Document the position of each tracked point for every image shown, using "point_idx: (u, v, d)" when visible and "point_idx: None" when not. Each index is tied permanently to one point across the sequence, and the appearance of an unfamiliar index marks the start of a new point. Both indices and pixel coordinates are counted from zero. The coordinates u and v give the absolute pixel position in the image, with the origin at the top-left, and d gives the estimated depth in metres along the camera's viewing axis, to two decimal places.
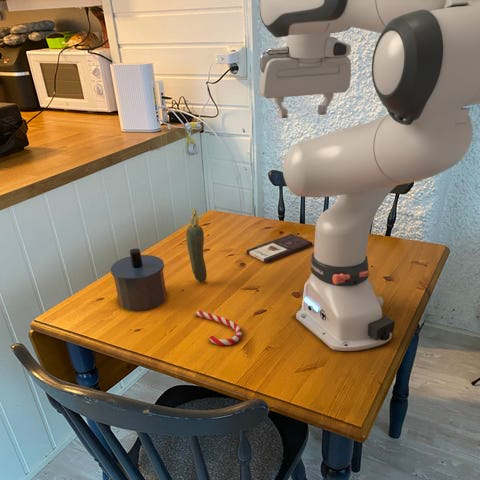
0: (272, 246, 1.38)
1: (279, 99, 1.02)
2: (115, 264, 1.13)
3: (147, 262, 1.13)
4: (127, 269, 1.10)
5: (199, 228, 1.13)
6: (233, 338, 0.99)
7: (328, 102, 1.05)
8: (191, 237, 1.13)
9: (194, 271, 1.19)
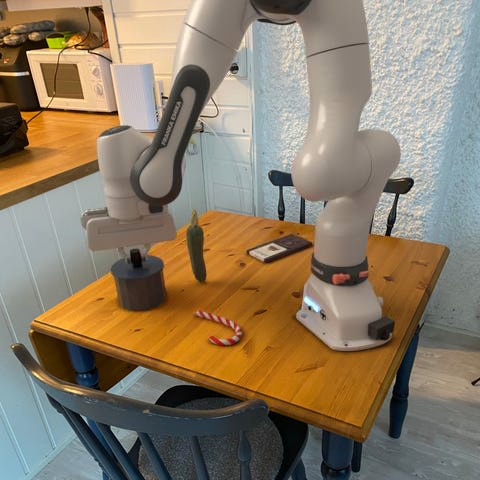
0: (272, 246, 1.38)
1: (119, 249, 1.07)
2: (115, 264, 1.13)
3: (147, 262, 1.13)
4: (127, 269, 1.10)
5: (199, 228, 1.13)
6: (233, 338, 0.99)
7: (147, 251, 1.09)
8: (191, 237, 1.13)
9: (194, 271, 1.19)
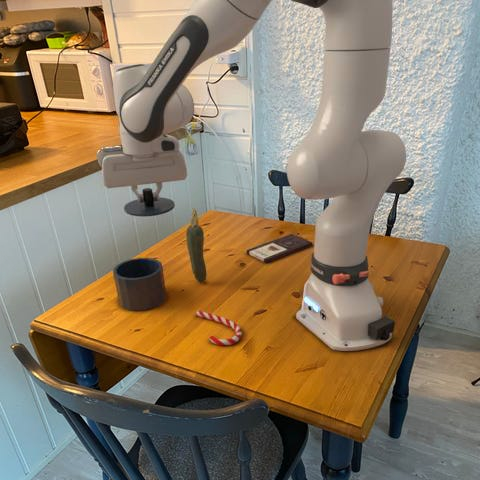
0: (272, 246, 1.38)
1: (133, 187, 1.13)
2: (128, 204, 1.19)
3: (158, 202, 1.19)
4: (140, 207, 1.16)
5: (199, 228, 1.13)
6: (233, 338, 0.99)
7: (159, 190, 1.15)
8: (191, 237, 1.13)
9: (194, 271, 1.19)
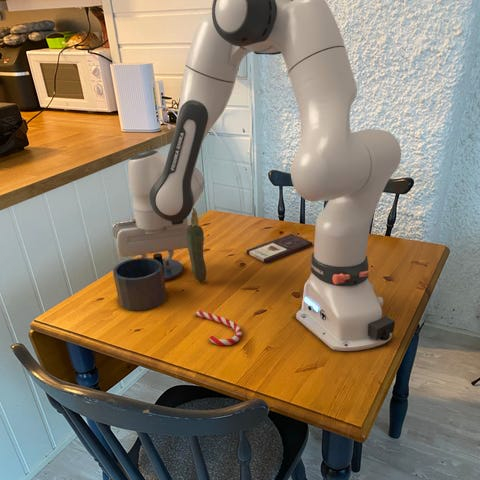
0: (272, 246, 1.38)
1: (142, 255, 1.24)
2: None
3: (168, 265, 1.29)
4: None
5: (199, 228, 1.13)
6: (233, 338, 0.99)
7: (170, 256, 1.26)
8: (191, 237, 1.13)
9: (194, 271, 1.19)
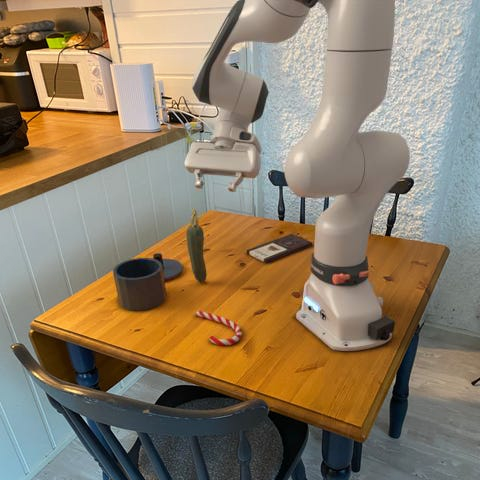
0: (272, 246, 1.38)
1: (196, 170, 1.22)
2: None
3: (168, 265, 1.29)
4: None
5: (199, 228, 1.13)
6: (233, 338, 0.99)
7: (236, 179, 1.18)
8: (191, 237, 1.13)
9: (194, 271, 1.19)
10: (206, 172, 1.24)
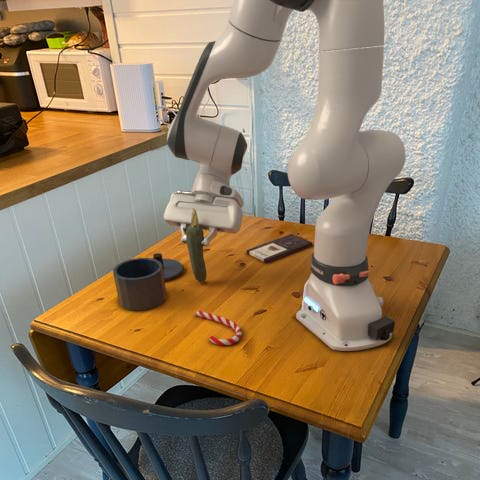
0: (272, 246, 1.38)
1: (182, 225, 1.17)
2: None
3: (168, 265, 1.29)
4: None
5: (199, 228, 1.13)
6: (233, 338, 0.99)
7: (209, 234, 1.14)
8: (191, 237, 1.13)
9: (194, 271, 1.19)
10: None
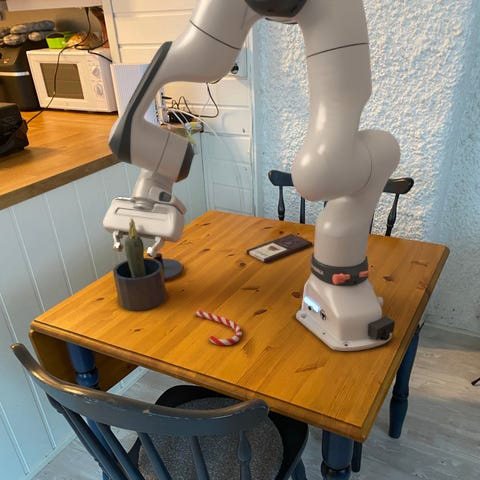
0: (272, 246, 1.38)
1: (114, 232, 1.11)
2: None
3: (168, 265, 1.29)
4: None
5: (137, 239, 1.07)
6: (233, 338, 0.99)
7: (155, 244, 1.07)
8: (129, 249, 1.07)
9: None
10: (127, 233, 1.13)
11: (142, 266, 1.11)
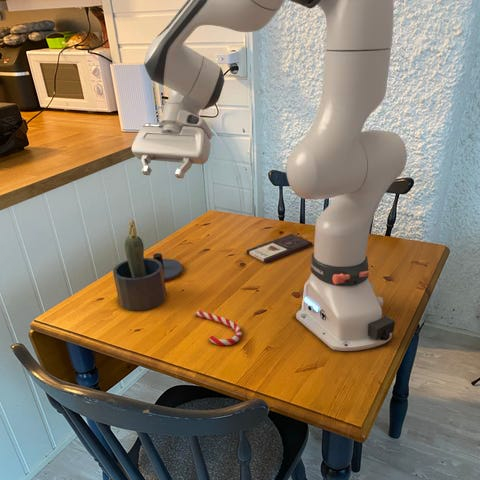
0: (272, 246, 1.38)
1: (143, 156, 1.16)
2: None
3: (168, 265, 1.29)
4: None
5: (137, 239, 1.07)
6: (233, 338, 0.99)
7: (183, 165, 1.12)
8: (129, 249, 1.07)
9: None
10: (154, 158, 1.17)
11: (142, 266, 1.11)
